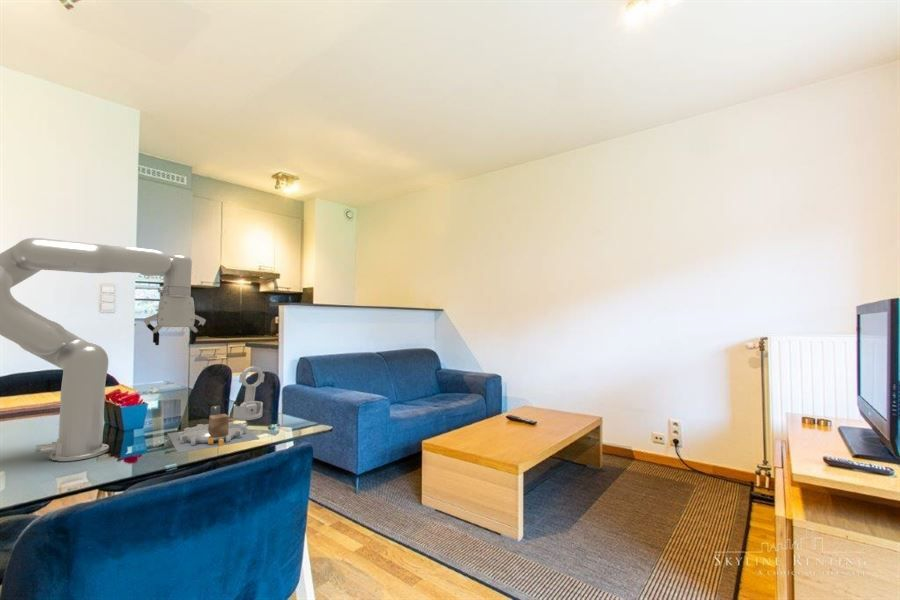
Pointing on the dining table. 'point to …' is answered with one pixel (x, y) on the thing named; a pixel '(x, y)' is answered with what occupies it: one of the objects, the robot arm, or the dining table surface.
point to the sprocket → (202, 432)
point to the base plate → (188, 447)
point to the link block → (218, 425)
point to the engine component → (249, 398)
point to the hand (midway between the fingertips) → (174, 344)
